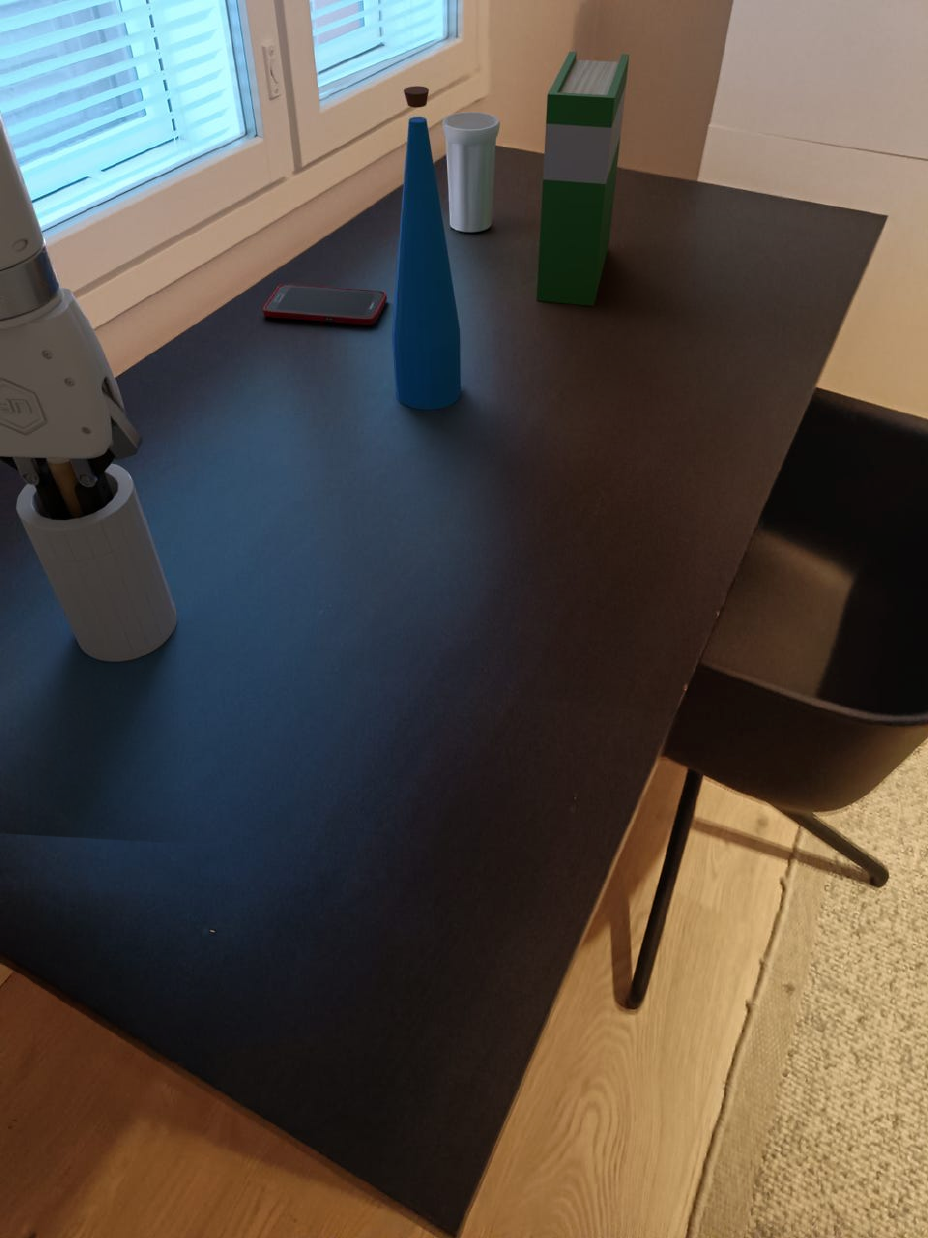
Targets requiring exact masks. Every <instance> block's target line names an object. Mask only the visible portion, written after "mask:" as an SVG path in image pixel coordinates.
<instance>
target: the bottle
mask: <svg viewBox="0 0 928 1238" xmlns="http://www.w3.org/2000/svg"><path fill="white" fill-rule="evenodd" d="M403 93H404V96H405V101H406V104H407V107H409V108H414V109H415V108H419V109H420V108H425V107H426V106H427V104H428V99H429V93H430V89H429V88H428V87H426V86H415V85H414V86H409V87H405V88H404V89H403ZM406 139H407V140H406V148H405V149H406V150H405V161H404V164H405V165H404V175H403V185H402V201H401V212H400V226H399V238H398V252H397V265H396V277H395V278H396V279H395V289H394V291H395V292H394V300H393V301H394V303H393V314H392V315H393V316H392V327H391V329H392V331H391V345H392V359H393V372H394V386H395V395H396V399H397V400H398V401H399V402H400V403H401V404H403V405H404V406H407V407H409V408H411V409H415V410H421V411H433V410H438V409H444V408H446V407H450V406H451V405H453V404H454V403H455V402H457V401H458V400H459V398H460V397H461V391H462V371H461V368H462V367H461V365H462V363H461V361H462V360H461V359H462V358H461V357H462V356H461V326H460V320H459V315H458V309H457V301H456V296H455V290H454V283H453V277H452V276H453V275H452V270H451V264H450V257H449V251H448V245H447V239H446V233H445V227H444V226H445V225H444V221H443V214H442V207H441V201H440V195H439V189H438V182H437V176H436V171H435V170H436V169H435V163H434V157H433V151H432V145H431V138H430V132H429V126H428V120H427V118H426V117H425V116H424V117H423V116H412V117H410V118H408V124H407V137H406Z"/></svg>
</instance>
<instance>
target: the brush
mask: <svg viewBox="0 0 928 1238" xmlns="http://www.w3.org/2000/svg"><path fill="white" fill-rule="evenodd" d="M46 460H47V463H48V465H49V468H50V470H51V473H52V475H53V477H54V480H55V482H56V485H57V487H58V489H59V492H60V494H61V497H62V499H63V501H64V504H65V506H66V509H67V511H68V513H69V516H70V518H71V519H77V518H82V517H85V516H84V513H83V511H82V509H81V506H80V504H79V501H78V499H77V496H76V494H75V486H76V485H77V483H78V479H77V476H76V474H75V471H74V469H73V466H72V464H71V461H70V459H65V458H47V459H46Z"/></svg>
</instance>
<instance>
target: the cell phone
mask: <svg viewBox="0 0 928 1238" xmlns="http://www.w3.org/2000/svg"><path fill="white" fill-rule="evenodd" d="M387 297H388V296H387V293H386V292H385V291H380V290H370V289H354V288H346V287H345V288H343V287H331V286H330V287H329V286H317V285H304V284H293V283H283V284H280V285H278V286H277V288H276V289H275V290H274V292H273V293H272V294H271V296H270V297H269V299H268V300H267V302H266V303H265V304H264V306H263V307H262V314H263V316H264V317H267V318H274V319H285V320H286V319H287V320H299V321H309V322H310V321H311V322H324V323H333V324H335V323H336V324H347V325H359V326H360V325H361V326H372V325H374V324H375V323H376V322H377V320H378V318H379V317H380V314H381V313H382V310H383V309H384V307H385V304H386V303H387V299H388V298H387Z"/></svg>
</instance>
